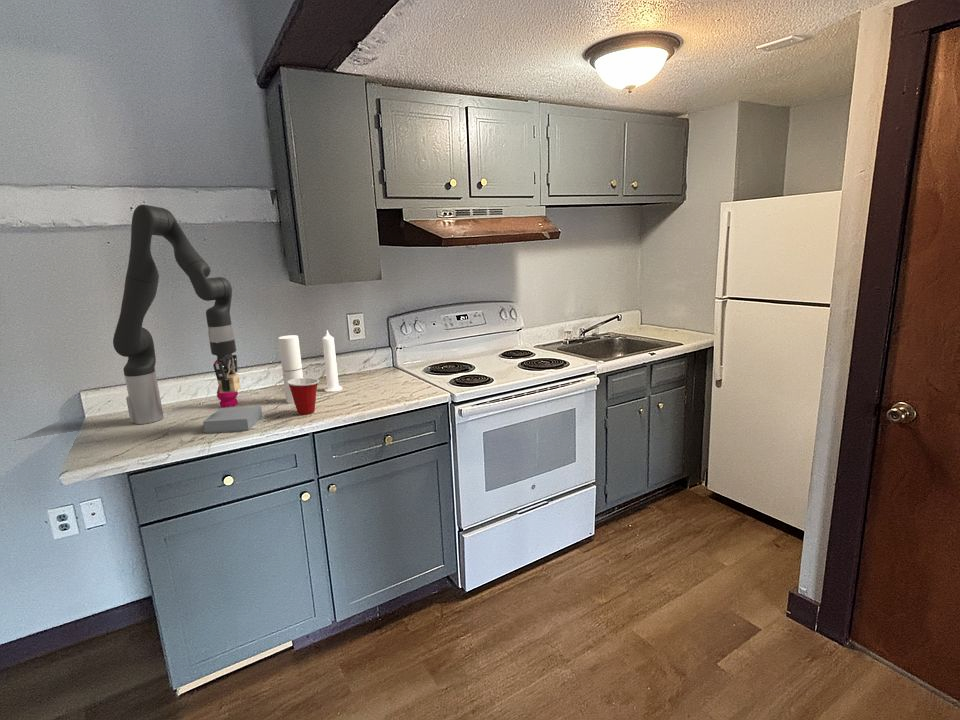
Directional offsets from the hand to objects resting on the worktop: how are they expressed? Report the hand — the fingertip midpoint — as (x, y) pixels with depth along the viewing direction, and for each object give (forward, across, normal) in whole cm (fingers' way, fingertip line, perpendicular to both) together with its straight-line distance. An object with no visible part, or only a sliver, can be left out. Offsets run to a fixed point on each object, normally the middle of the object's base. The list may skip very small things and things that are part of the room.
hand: (229, 388), depth 179 cm
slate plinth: (+13, 0, 0) cm, 13 cm away
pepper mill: (+13, -24, -11) cm, 29 cm away
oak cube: (+1, 0, 0) cm, 1 cm away
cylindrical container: (+13, -25, +14) cm, 31 cm away
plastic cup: (+13, -9, +22) cm, 27 cm away
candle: (+13, -37, +26) cm, 47 cm away
